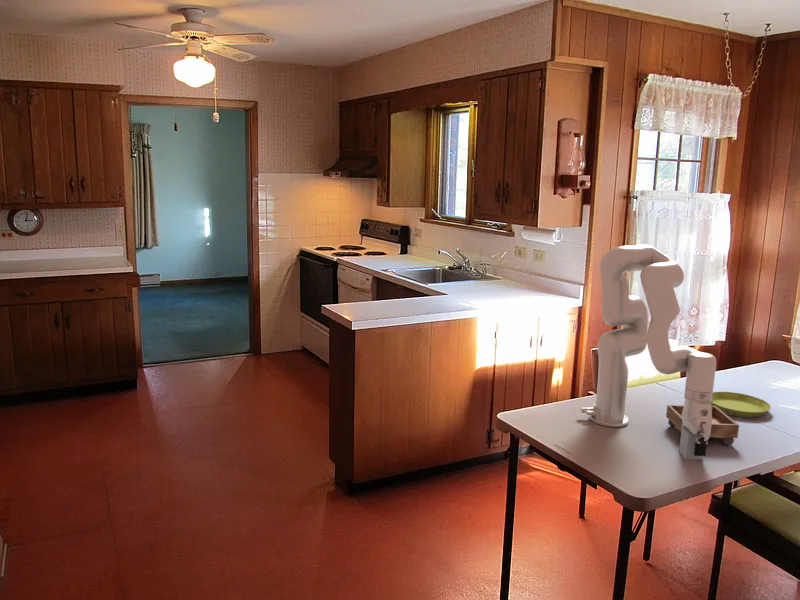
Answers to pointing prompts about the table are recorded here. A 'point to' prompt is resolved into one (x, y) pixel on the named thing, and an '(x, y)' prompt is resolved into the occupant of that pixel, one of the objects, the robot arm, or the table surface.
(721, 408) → the saucer
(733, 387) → the table surface
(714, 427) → the cart
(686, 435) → the block
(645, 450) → the table surface
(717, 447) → the table surface
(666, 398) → the table surface
